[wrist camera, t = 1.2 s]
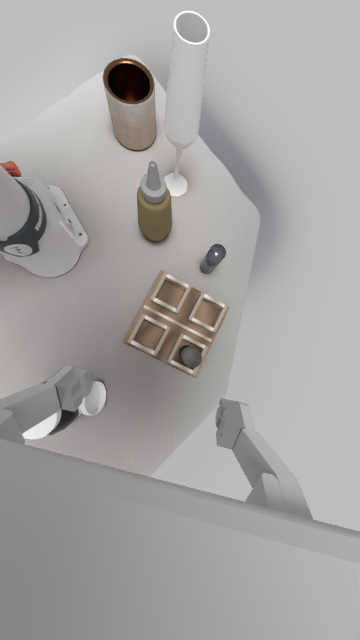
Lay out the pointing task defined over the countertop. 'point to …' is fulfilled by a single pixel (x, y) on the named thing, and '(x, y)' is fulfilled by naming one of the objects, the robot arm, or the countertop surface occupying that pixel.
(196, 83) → the champagne flute
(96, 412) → the spread jar
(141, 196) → the squeeze bottle
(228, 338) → the countertop surface
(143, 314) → the wooden compartment tray
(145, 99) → the planter
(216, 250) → the pin
